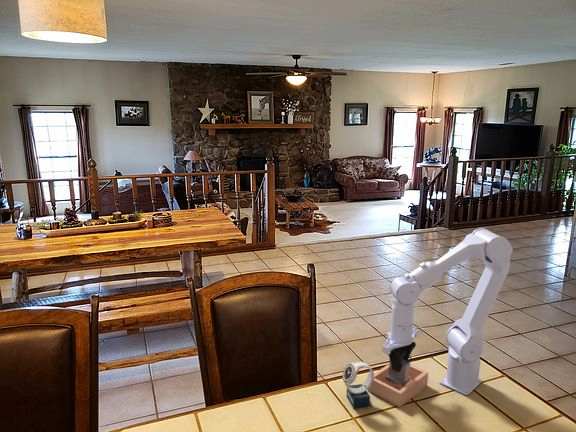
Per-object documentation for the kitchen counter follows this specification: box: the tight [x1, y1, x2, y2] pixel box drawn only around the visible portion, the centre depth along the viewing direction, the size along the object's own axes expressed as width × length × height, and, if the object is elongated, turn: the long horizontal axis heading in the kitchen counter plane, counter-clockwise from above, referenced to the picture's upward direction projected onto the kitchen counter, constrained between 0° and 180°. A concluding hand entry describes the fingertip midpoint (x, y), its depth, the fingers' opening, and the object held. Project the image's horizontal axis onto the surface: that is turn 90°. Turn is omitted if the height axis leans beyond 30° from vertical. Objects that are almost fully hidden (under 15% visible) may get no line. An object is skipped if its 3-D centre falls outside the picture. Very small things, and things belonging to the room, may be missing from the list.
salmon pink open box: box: [367, 363, 429, 408], centre depth 123 cm, size 14×10×4 cm
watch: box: [342, 361, 375, 410], centre depth 116 cm, size 6×8×11 cm
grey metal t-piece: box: [386, 358, 412, 388], centre depth 122 cm, size 5×5×6 cm
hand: (398, 368), depth 122 cm, fingers closed on grey metal t-piece, 2 cm apart
